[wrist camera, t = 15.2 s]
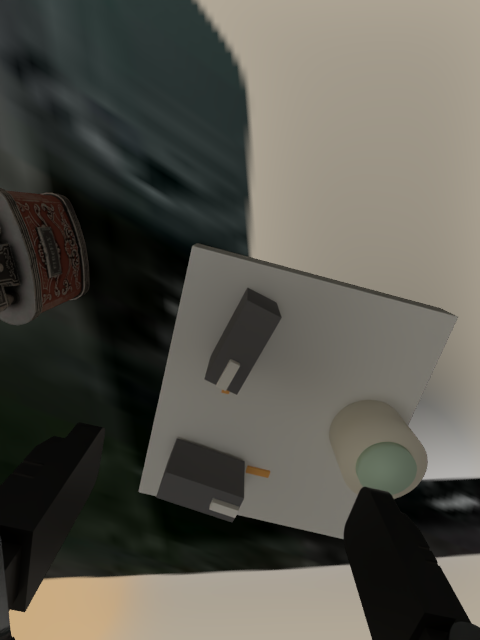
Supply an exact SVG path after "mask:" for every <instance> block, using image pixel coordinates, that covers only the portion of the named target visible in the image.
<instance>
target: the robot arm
mask: <svg viewBox="0 0 480 640" xmlns="http://www.w3.org/2000/svg"><path fill="white" fill-rule="evenodd" d="M104 436H105V428H102V427H98V426H93V425H89V424H84V423H78V424H77V425H76V426H75V427H74V428H73V429H72V431H71V432H70V433H69V434H68V436H67V437H66V438H61V437H56V436H53V437H51V438H50V439H48V440H46V441H44V442H43V443H41V444H39V445H37V446H36V447H35V448H34V449H33V450H32V451H31V453H30V454H29V455H28V456H27V457H26V458H25V459H24V461H23V463H21V464H20V465H19V466H18V467H17V468H16V469H15V470H14V472H13V474H11V475H10V476H9V477H8V478H7V479H6V480H5V481H4V483H3V484H2V485H1V486H0V640H15V638H14V637H12V636H11V631H10V623H9V610H10V609H11V610H17V611H21V612H25V611H26V609H27V607H28V606H29V604H30V602H31V600H32V598H33V596H34V595H35V593H36V591H37V589H38V587H39V585H40V584H41V582H42V580H43V578H44V577H45V575H46V573H47V571H48V569H49V568H50V566H51V564H52V562H53V560H54V559H55V557H56V555H57V553H58V551H59V549H60V548H61V546H62V544H63V542H64V540H65V539H66V537H67V535H68V533H69V531H70V530H71V528H72V526H73V524H74V522H75V521H76V519H77V517H78V515H79V513H80V511H81V510H82V508H83V506H84V504H85V502H86V501H87V499H88V497H89V495H90V493H91V491H92V489H93V487H94V485H95V482H96V479H97V476H98V472H99V467H100V460H101V454H102V448H103V442H104ZM344 546H345V550H346V553H347V556H348V560H349V563H350V566H351V570H352V573H353V576H354V580H355V583H356V587H357V590H358V593H359V596H360V600H361V603H362V607H363V610H364V613H365V617H366V620H367V623H368V627H369V630H370V633H371V636H372V640H480V628H479V627H478V626H476V625H474V624H472V623H471V622H470V620H469V618H468V616H467V614H466V613H465V611H464V609H463V607H462V605H461V604H460V602H459V600H458V598H457V596H456V595H455V593H454V591H453V589H452V587H451V585H450V584H449V582H448V580H447V578H446V576H445V575H444V573H443V571H442V569H441V568H440V566H438V564H437V560H436V558H435V556H434V555H433V553H432V551H430V550H429V548H430V547H429V546H428V544H427V542H426V540H425V538H424V537H423V535H422V533H421V531H420V530H419V528H418V527H417V526H416V525H415V524H414V523H413V522H412V521H411V520H410V518H409V517H408V516H407V515H406V514H404V513H401V512H400V510H399V508H398V506H397V504H396V502H395V500H394V498H393V496H392V495H391V494H390V493H389V492H387V491H383V490H378V489H374V488H369V487H362V488H361V490H360V491H359V493H358V496H357V498H356V500H355V503H354V505H353V507H352V510H351V512H350V514H349V517H348V519H347V521H346V524H345V527H344Z"/></svg>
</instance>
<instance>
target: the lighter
mask: <svg viewBox="0 0 480 640" xmlns="http://www.w3.org/2000/svg"><path fill="white" fill-rule="evenodd" d="M88 290H89V264H88V257H87V250H86V244H85V241H84V237H83V234H82V230H81V227H80V224H79V221H78V219H77V216H76V214H75V211H74V209H73V206H72V204H71V203H70V201H69V200H68V199H67V198H66V197H65V196H63V195H60V194H56V193H43V194H32V193H23V192H13V191H6V190H4V189H2V188H0V319H1V320H3V321H4V322H6V323H9V324H12V325H21V324H25V323H28V322H30V321H32V320H34V319H35V318H37V317H38V316H39V315H40V313H42V312H44V311H46V310H48V309H51V308H53V307H55V306H57V305H59V304H61V303H63V302H66V301H68V300H74V299H77V298H79V297H81V296H83V295H85V294H86V293H87V291H88Z"/></svg>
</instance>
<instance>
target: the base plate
mask: <svg viewBox="0 0 480 640" xmlns="http://www.w3.org/2000/svg"><path fill="white" fill-rule="evenodd" d="M247 287H248V288H250V289H252V290H253V291H255V292H257V293H259V294H261V295H263V296H265V297H267V298H269V299H271V300H273V301H275V302H277V305H278V308H279V311H280V314H281V317H282V318H281V320H280V322H279V323H278V325H277V327H276V329H275V330H274V332H273V334H272V335H271V337H270V339H269V341H268V342H267V344H266V346H265V347H264V349H263V351H262V353H261V354H260V356H259V358H258V359H257V361H256V363H255V365H254V366H253V368H252V370H251V372H250V373H249V375H248V377H247V378H246V380H245V382H244V384H243V385H242V387H241V389H240V390H239V392H238V394H237V395H236V394H234V393H232V392H230V391H227V390H226V391H224V390H222V389H220V388H218V387H216V385H215V384H213V383H211V382H209V381H207V380H204V378H205V375H206V371H207V367H208V364H209V360H210V356H211V354H212V352H213V351H214V349H215V347H216V345H217V343H218V341H219V339H220V337H221V336H222V334H223V332H224V330H225V328H226V326H227V324H228V323H229V321H230V319H231V317H232V315H233V313H234V311H235V310H236V308H237V306H238V304H239V302H240V300H241V298H242V296H243V295H244V293H245V291H246V289H247ZM457 318H458V317H457V316H455V315H453V314H451V313H449V312H447V311H445V310H443V309H441V308H437V307H433V306H430V305H426V304H423V303H419V302H415V301H411V300H407V299H404V298H400V297H396V296H392V295H389V294H385V293H381V292H378V291H374V290H370V289H366V288H362V287H358V286H355V285H351V284H348V283H344V282H340V281H337V280H333V279H329V278H325V277H322V276H318V275H314V274H310V273H307V272H303V271H299V270H295V269H291V268H288V267H284V266H281V265H277V264H273V263H269V262H266V261H262V260H258V259H254V258H251V257H247V256H243V255H240V254H236V253H232V252H228V251H225V250H221V249H217V248H213V247H210V246H206V245H202V244H198V243H197V244H195V245H193V246H192V250H191V255H190V259H189V264H188V268H187V273H186V278H185V282H184V287H183V291H182V296H181V300H180V305H179V309H178V314H177V319H176V323H175V328H174V332H173V337H172V341H171V346H170V351H169V355H168V360H167V364H166V369H165V373H164V378H163V383H162V387H161V392H160V396H159V401H158V405H157V410H156V415H155V419H154V424H153V428H152V433H151V437H150V442H149V447H148V451H147V456H146V460H145V465H144V469H143V474H142V479H141V483H140V488H139V492H141V493H145V494H149V495H154V496H157V493H158V490H159V487H160V484H161V480H162V477H163V474H164V471H165V468H166V465H167V462H168V459H169V457H170V454H171V452H172V449H173V447H174V444H175V442H176V439H177V438H178V439H181V440H184V441H187V442H190V443H193V444H195V445H198V446H201V447H204V448H207V449H210V450H213V451H216V452H219V453H222V454H225V455H227V456H230V457H233V458H236V459H239V460H242V461H245V476H244V500H243V502H242V504H241V506H240V508H239V511H238V513H237V515H241V516H245V517H250V518H254V519H258V520H263V521H267V522H271V523H276V524H280V525H285V526H289V527H293V528H298V529H302V530H306V531H311V532H315V533H319V534H324V535H328V536H333V537H337V538H341V539H344V527H345V524H346V521H347V519H348V517H349V514H350V512H351V510H352V507H353V505H354V503H355V500H356V498H357V496H358V493H359V491H360V490H361V488H362V487H369V488H374V489H378V490H383V491H387V492H389V493H390V494H391V495H392V496H393V498H394V499H395V498H398V497H401V496H403V495H405V494H407V493H408V492H410V491H411V490H413V489H414V488H415V487H416V486H417V485H418V484H419V483H420V481H421V480H422V478H423V477H424V475H425V472H426V469H427V463H428V461H427V454H426V451H425V449H424V447H423V445H422V444H421V443H420V441H419V440H418V438H417V437H416V436H415V435H414V433H413V432H412V431H411V429H410V428H409V427H408V424H409V422H410V420H411V418H412V416H413V414H414V411H415V409H416V407H417V405H418V403H419V401H420V398H421V396H422V394H423V392H424V390H425V387H426V385H427V383H428V381H429V379H430V377H431V374H432V372H433V370H434V368H435V366H436V364H437V361H438V359H439V357H440V355H441V353H442V351H443V348H444V346H445V344H446V342H447V340H448V338H449V335H450V333H451V331H452V329H453V327H454V325H455V322H456V320H457Z"/></svg>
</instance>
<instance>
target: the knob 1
mask: <svg viewBox="0 0 480 640" xmlns="http://www.w3.org/2000/svg"><path fill="white" fill-rule="evenodd" d="M244 476H245V461H242V460H239V459H236V458H233V457H230V456H227V455H225V454H222V453H219V452H216V451H213V450H210V449H207V448H204V447H201V446H198V445H195V444H193V443H190V442H187V441H184V440H181V439H178V438H177V439H176V442H175V444H174V447H173V449H172V452H171V454H170V457H169V459H168V462H167V465H166V468H165V471H164V474H163V477H162V480H161V484H160V487H159V490H158V493H157V496H156V498H159V499H162V500H165V501H168V502H172V503H175V504H178V505H181V506H184V507H187V508H190V509H193V510H196V511H199V512H202V513H205V514H208V515H211V516H214V517H217V518H220V519H223V520H226V521H230V522H233V520H234V518H235V517H236V515H237V513H238V511H239V508H240V506H241V504H242V502H243V500H244Z"/></svg>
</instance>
